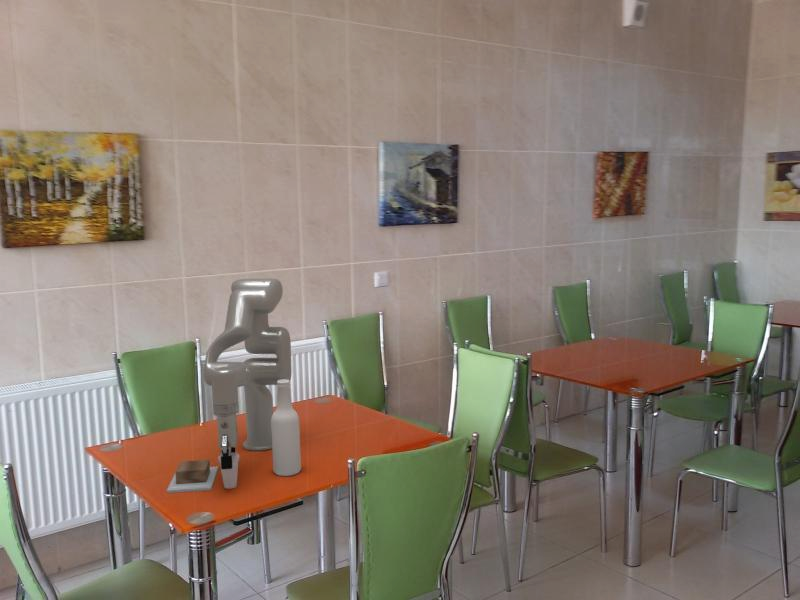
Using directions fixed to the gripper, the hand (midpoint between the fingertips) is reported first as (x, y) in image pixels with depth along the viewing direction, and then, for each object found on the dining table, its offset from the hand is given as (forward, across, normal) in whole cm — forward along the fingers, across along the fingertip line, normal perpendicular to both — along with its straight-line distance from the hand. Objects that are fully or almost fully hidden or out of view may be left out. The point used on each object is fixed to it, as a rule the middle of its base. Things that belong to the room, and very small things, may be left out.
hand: (228, 463), depth 224 cm
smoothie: (+8, +1, 0) cm, 8 cm away
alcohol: (+7, +10, -17) cm, 21 cm away
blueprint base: (+7, +8, +12) cm, 16 cm away
